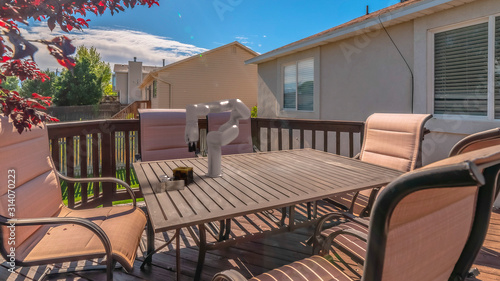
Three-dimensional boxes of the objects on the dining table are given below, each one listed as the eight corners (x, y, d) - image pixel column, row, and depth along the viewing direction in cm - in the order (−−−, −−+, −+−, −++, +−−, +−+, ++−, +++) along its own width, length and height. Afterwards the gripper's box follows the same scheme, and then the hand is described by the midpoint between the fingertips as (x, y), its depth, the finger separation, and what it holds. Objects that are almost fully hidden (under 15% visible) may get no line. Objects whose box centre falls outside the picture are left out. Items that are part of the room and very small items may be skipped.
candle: (187, 186, 176) (187, 170, 175) (172, 185, 178) (172, 169, 177) (194, 182, 186) (193, 167, 185) (179, 181, 188) (179, 166, 187)
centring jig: (163, 185, 177) (163, 177, 177) (185, 188, 171) (185, 180, 170) (148, 190, 165) (147, 182, 165) (170, 194, 159) (170, 185, 158)
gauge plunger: (170, 178, 174) (170, 172, 174) (176, 179, 172) (176, 172, 172) (157, 182, 164) (157, 176, 163) (163, 183, 162) (163, 176, 161)
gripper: (194, 123, 196) (194, 149, 198) (179, 124, 181) (179, 153, 183) (203, 123, 193) (203, 150, 195) (189, 124, 178) (189, 153, 180)
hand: (192, 151), depth 189 cm, fingers open, 2 cm apart
